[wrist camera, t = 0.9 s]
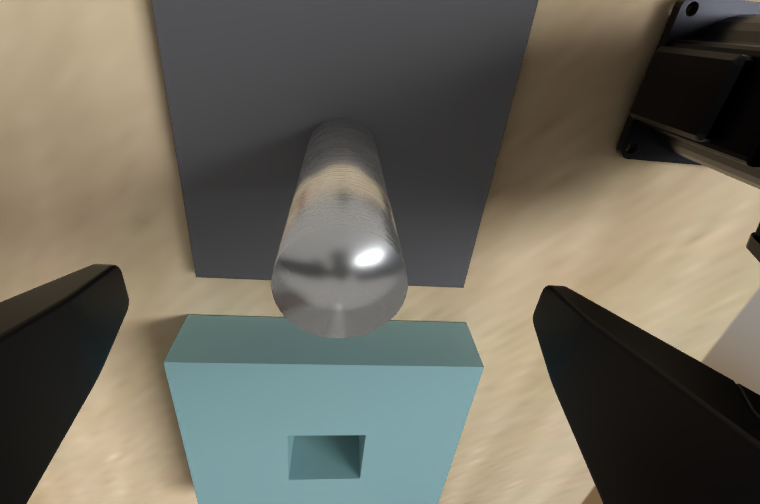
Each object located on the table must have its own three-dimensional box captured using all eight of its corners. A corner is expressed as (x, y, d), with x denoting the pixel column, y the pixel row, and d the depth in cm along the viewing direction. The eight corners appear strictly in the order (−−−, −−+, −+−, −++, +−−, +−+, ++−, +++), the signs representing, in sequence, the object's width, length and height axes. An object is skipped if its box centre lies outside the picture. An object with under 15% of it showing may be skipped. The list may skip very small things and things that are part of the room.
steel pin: (379, 119, 17) (417, 232, 8) (373, 186, 18) (398, 339, 10) (308, 113, 16) (268, 223, 8) (307, 182, 18) (273, 337, 9)
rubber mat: (536, -19, 15) (543, -20, 15) (460, 281, 22) (463, 287, 22) (147, -73, 13) (138, -76, 13) (199, 270, 21) (196, 277, 20)
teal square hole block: (466, 322, 24) (483, 367, 21) (424, 473, 32) (432, 521, 29) (187, 314, 22) (163, 362, 19) (218, 477, 30) (204, 528, 27)
